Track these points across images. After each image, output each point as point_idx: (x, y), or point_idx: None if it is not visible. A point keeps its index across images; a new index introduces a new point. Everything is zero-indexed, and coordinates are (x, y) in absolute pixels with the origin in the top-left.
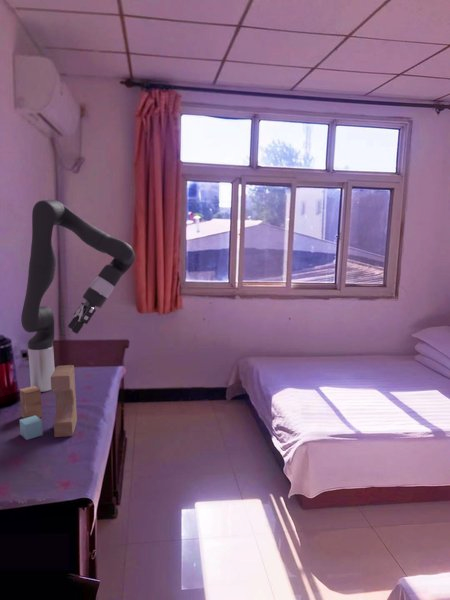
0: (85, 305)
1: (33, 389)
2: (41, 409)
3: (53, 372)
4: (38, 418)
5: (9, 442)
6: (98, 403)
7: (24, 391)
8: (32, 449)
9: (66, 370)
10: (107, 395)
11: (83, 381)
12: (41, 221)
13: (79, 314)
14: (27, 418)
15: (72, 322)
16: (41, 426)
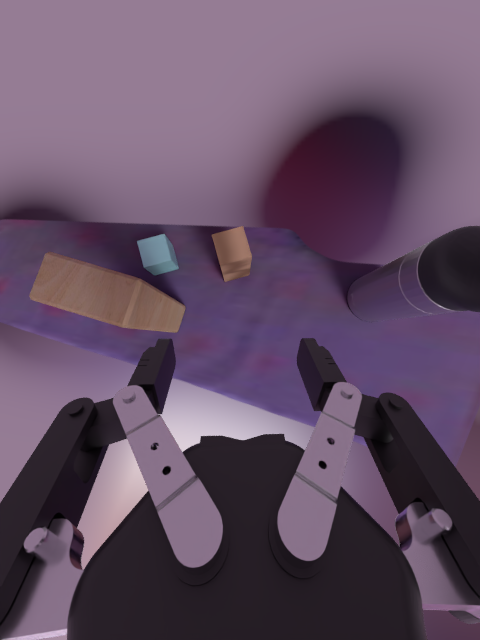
0: (255, 580)
1: (227, 251)
2: (223, 277)
3: (89, 263)
4: (154, 263)
5: (152, 229)
6: (240, 384)
7: (224, 234)
8: (112, 257)
9: (77, 298)
10: (273, 410)
11: (377, 381)
12: None
13: (163, 422)
14: (163, 246)
15: (310, 366)
16: (148, 270)
